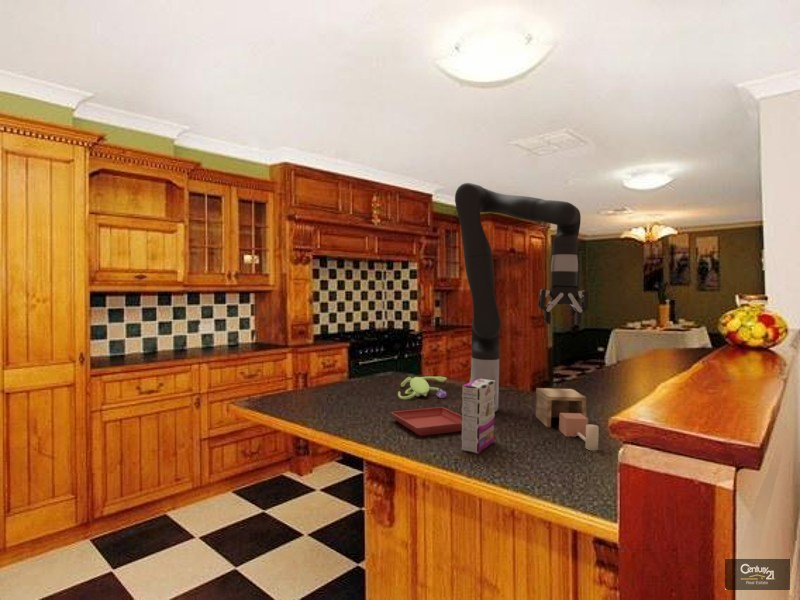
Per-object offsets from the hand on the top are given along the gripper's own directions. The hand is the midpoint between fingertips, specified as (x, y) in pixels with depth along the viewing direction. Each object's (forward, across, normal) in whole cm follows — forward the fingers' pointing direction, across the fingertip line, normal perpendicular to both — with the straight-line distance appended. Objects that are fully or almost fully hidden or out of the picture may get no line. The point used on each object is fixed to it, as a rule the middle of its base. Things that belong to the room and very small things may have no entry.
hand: (562, 324), depth 141 cm
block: (+30, +1, -15) cm, 33 cm away
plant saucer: (+31, -39, -5) cm, 50 cm away
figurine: (+31, -40, +40) cm, 64 cm away
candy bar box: (+30, -28, -22) cm, 47 cm away
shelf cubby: (+30, +1, +3) cm, 30 cm away
